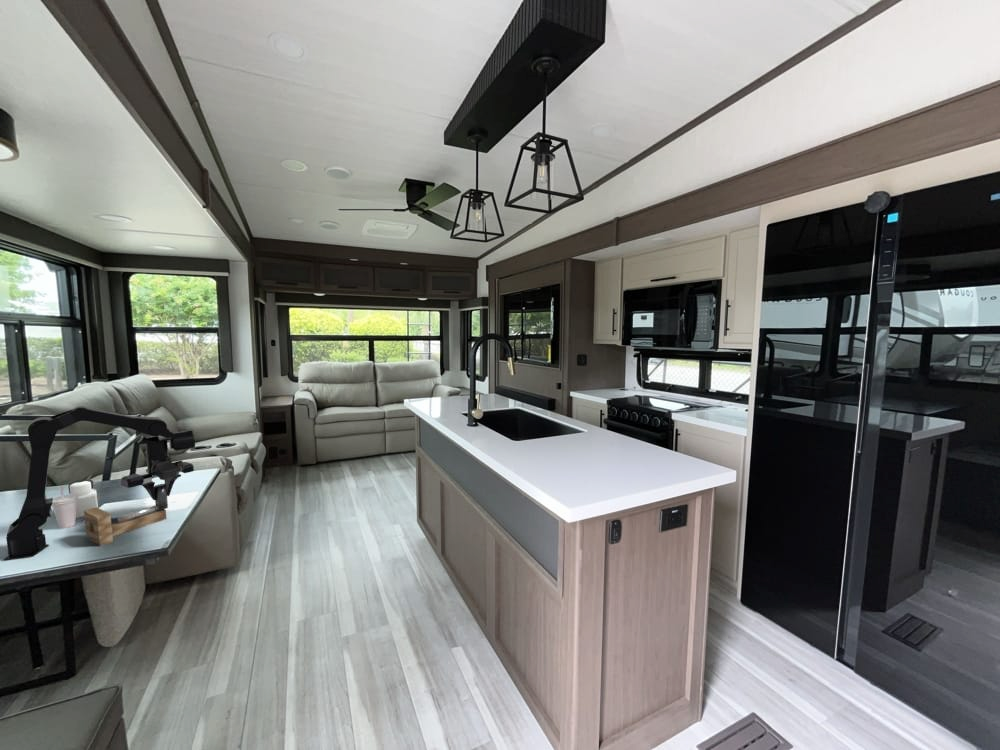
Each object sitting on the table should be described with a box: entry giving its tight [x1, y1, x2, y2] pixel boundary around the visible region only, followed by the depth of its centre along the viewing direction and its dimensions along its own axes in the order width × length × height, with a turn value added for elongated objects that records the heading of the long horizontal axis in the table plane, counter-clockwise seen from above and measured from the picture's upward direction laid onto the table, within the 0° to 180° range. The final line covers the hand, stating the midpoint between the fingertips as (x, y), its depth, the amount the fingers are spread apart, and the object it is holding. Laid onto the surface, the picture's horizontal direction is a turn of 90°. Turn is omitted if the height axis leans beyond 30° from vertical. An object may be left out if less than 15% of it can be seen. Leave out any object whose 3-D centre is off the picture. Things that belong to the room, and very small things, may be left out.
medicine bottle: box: [68, 479, 99, 519], centre depth 143 cm, size 7×7×12 cm
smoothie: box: [51, 485, 78, 530], centre depth 134 cm, size 6×6×14 cm
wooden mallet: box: [84, 507, 167, 547], centre depth 132 cm, size 18×10×9 cm, turn 152°
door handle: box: [117, 483, 169, 523], centre depth 135 cm, size 13×3×8 cm, turn 152°
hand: (161, 497), depth 139 cm, fingers open, 4 cm apart
